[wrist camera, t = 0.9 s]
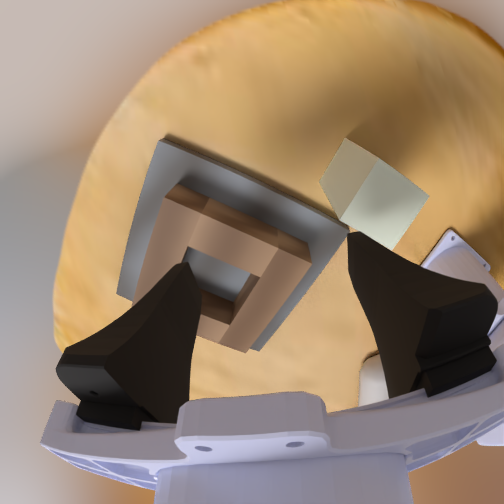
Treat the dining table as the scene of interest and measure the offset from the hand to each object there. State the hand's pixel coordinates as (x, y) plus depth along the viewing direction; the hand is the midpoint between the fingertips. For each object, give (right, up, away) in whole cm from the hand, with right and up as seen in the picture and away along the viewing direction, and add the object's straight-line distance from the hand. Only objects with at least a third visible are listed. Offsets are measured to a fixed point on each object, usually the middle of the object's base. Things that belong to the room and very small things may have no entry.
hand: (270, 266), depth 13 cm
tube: (+17, -21, +24) cm, 36 cm away
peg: (+7, +7, +8) cm, 12 cm away
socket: (-4, 0, +12) cm, 13 cm away
